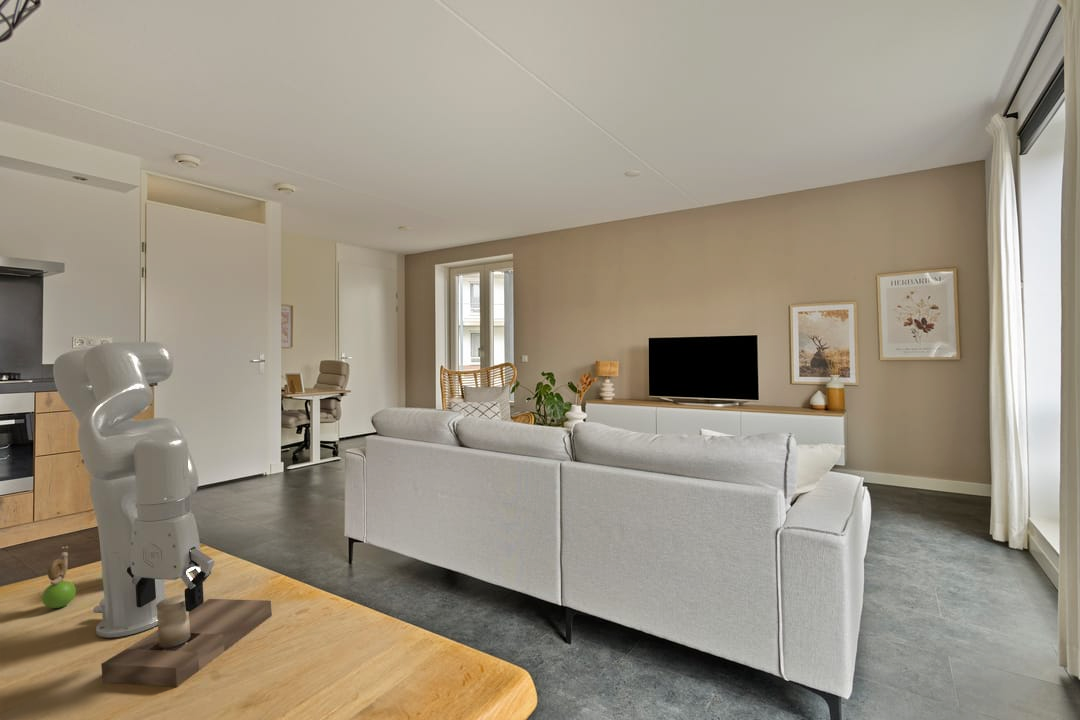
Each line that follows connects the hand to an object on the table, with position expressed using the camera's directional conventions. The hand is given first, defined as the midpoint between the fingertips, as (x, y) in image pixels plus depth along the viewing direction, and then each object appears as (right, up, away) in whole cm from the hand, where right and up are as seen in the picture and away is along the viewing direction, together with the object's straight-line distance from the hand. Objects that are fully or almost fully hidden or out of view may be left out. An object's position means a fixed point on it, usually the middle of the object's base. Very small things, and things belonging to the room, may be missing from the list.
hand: (170, 605), depth 92 cm
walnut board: (+2, -9, +3) cm, 10 cm away
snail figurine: (-40, -11, +23) cm, 47 cm away
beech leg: (+1, -9, 0) cm, 9 cm away
